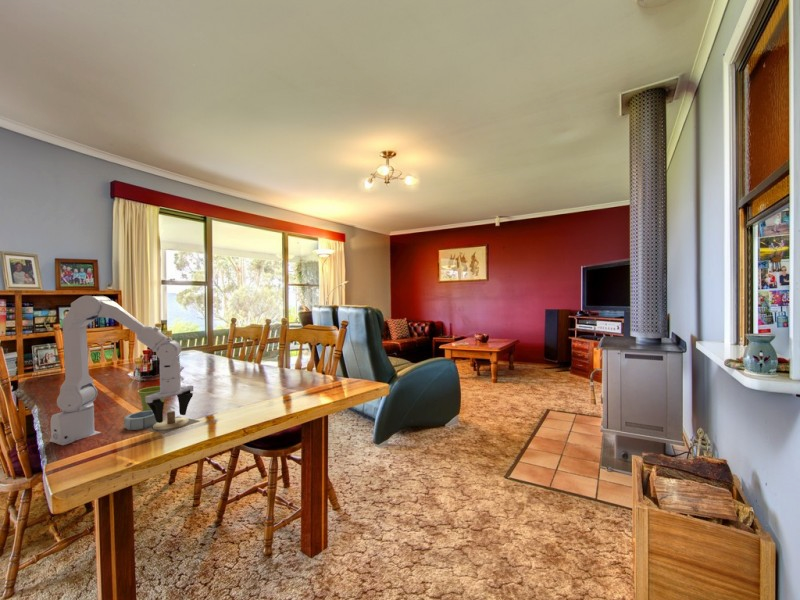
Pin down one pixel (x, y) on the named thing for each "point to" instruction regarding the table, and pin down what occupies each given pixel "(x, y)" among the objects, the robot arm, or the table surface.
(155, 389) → the plant pot
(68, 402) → the robot arm
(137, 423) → the bowl
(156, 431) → the mat
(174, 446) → the table surface
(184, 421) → the lid
